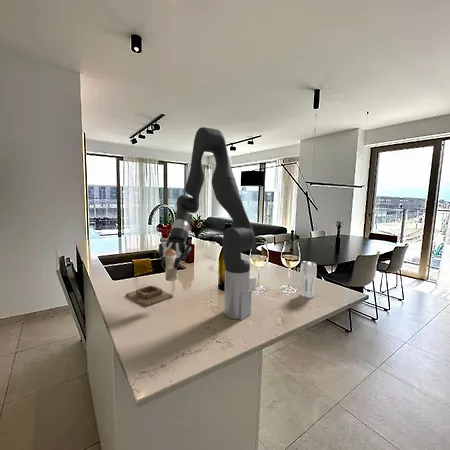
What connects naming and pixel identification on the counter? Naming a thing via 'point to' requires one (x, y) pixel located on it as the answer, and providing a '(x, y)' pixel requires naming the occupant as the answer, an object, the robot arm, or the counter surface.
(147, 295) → the cradle
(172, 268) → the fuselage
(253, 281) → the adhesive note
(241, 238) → the robot arm
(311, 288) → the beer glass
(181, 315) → the counter surface
